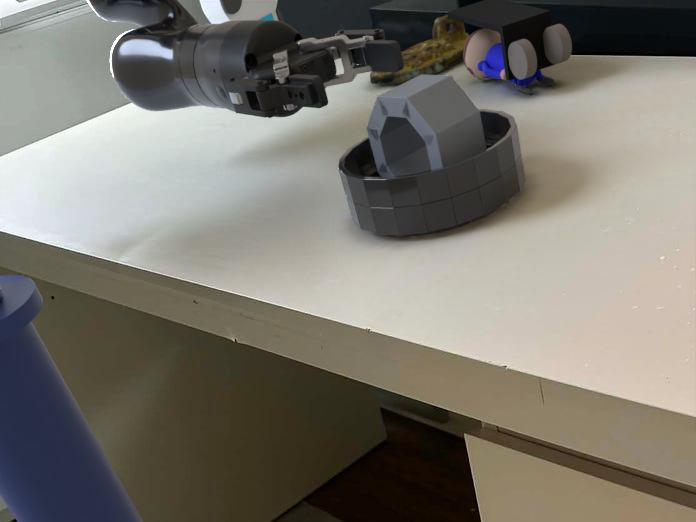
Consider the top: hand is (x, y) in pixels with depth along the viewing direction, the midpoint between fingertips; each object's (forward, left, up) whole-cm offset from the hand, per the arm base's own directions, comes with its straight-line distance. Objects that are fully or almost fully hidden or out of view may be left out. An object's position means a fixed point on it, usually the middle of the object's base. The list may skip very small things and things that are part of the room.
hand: (361, 74), depth 78 cm
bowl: (+3, -6, -10) cm, 12 cm away
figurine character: (+21, +20, -10) cm, 31 cm away
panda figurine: (+2, +64, -10) cm, 65 cm away
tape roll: (+3, -5, -9) cm, 11 cm away
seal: (+17, +39, -10) cm, 44 cm away
